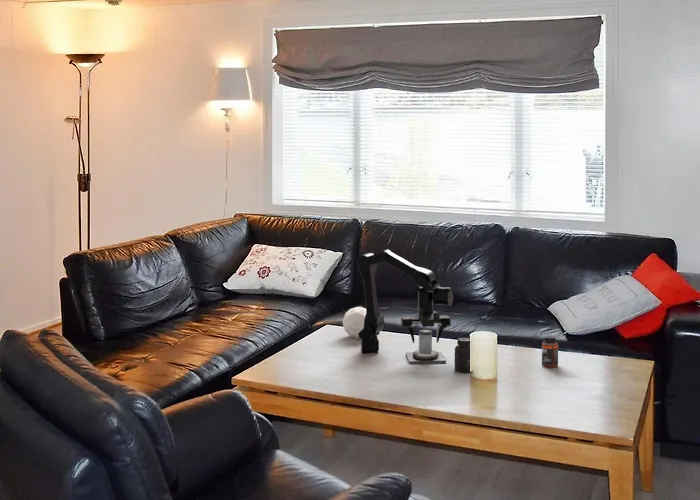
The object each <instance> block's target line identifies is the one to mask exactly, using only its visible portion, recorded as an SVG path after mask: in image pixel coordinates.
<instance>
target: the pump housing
mask: <svg viewBox="0 0 700 500" xmlns="http://www.w3.org/2000/svg"><path fill="white" fill-rule="evenodd" d="M418 349H419V352H420V353H431V352H432V349H433V331H432V330H431V329H421V330H419V331H418Z"/></svg>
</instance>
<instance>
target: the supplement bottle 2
mask: <svg viewBox="0 0 700 500" xmlns="http://www.w3.org/2000/svg"><path fill="white" fill-rule="evenodd" d="M541 365H542V366H543V367H545V368H547V369H548V368H549V369H550V368H556V367H558V366H559V343H558V342H557V340H556V336H555V335H548V334H547V335H545V336H544V341H542V343H541Z"/></svg>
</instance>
